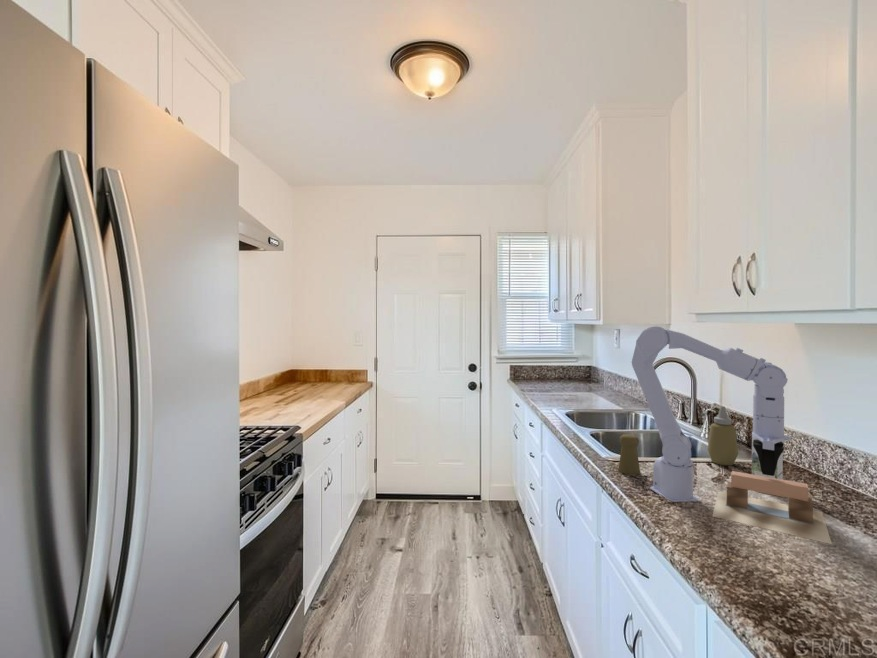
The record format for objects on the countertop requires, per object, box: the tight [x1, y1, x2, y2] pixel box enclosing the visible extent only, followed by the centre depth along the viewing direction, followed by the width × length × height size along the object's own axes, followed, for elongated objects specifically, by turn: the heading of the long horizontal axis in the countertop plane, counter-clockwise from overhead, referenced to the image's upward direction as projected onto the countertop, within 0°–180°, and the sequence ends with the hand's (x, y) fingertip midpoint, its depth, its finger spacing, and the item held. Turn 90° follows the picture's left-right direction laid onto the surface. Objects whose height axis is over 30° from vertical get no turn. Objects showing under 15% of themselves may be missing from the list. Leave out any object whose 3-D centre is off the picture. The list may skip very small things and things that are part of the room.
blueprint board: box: [712, 481, 833, 545], centre depth 97 cm, size 20×18×5 cm
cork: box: [617, 433, 641, 476], centre depth 127 cm, size 6×6×11 cm
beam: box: [730, 470, 809, 501], centre depth 99 cm, size 14×3×3 cm, turn 53°
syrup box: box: [751, 435, 784, 480], centre depth 113 cm, size 6×6×14 cm
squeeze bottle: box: [707, 405, 739, 466], centre depth 134 cm, size 8×8×18 cm
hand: (767, 473), depth 99 cm, fingers closed
